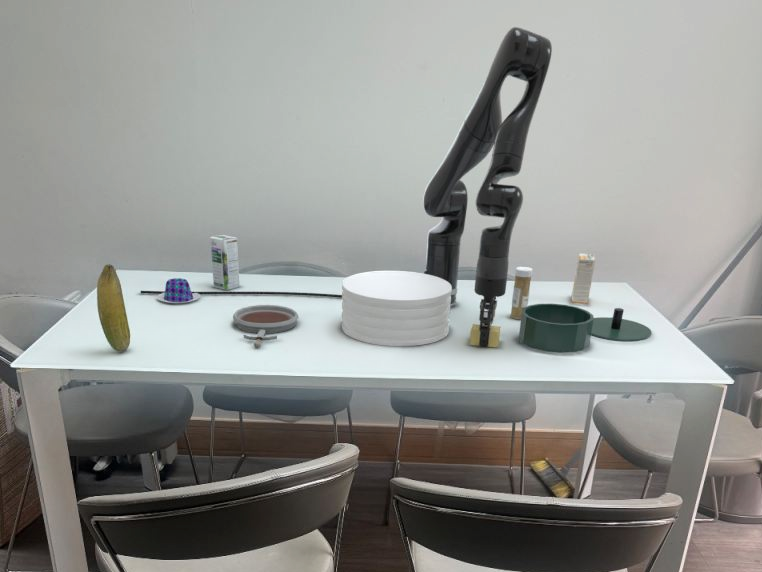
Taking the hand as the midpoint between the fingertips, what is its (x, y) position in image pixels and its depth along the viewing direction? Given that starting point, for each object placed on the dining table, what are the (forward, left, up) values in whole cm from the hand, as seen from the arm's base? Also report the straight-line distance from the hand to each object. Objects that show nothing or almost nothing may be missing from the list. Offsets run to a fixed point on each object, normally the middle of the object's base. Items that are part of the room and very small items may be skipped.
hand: (484, 342), depth 192 cm
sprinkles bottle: (+7, +25, -1) cm, 26 cm away
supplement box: (+24, +47, -1) cm, 53 cm away
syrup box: (-80, +28, -1) cm, 85 cm away
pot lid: (+33, +20, 0) cm, 39 cm away
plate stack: (-24, +5, -1) cm, 25 cm away
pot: (+17, +6, 0) cm, 18 cm away
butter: (0, 0, 0) cm, 0 cm away
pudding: (-88, +12, -1) cm, 89 cm away
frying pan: (-56, -7, -1) cm, 56 cm away
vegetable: (-83, -32, -1) cm, 89 cm away
